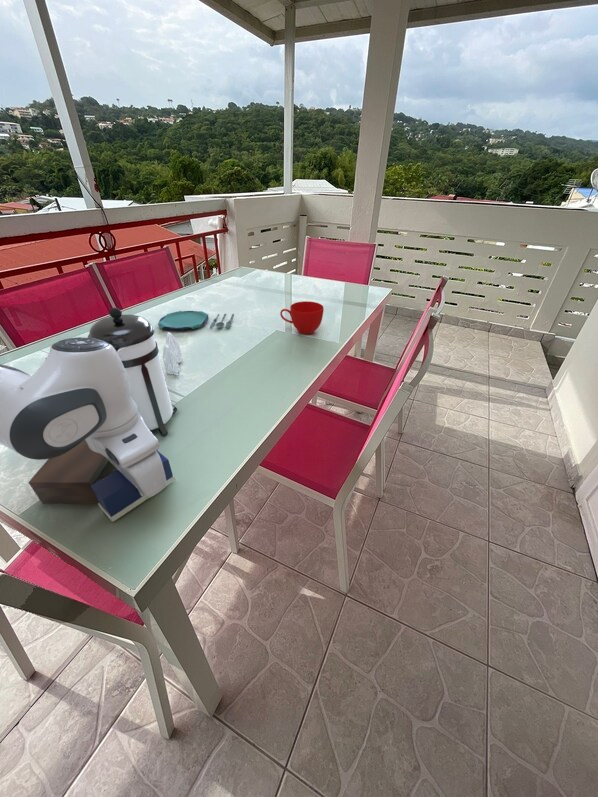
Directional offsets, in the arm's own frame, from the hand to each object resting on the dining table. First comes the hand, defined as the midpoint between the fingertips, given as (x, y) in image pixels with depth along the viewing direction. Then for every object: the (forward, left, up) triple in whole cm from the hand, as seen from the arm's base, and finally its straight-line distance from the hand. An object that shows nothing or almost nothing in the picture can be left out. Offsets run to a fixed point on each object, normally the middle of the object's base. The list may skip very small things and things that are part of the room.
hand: (135, 484), depth 63 cm
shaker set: (-9, +52, -4) cm, 53 cm away
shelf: (-13, +6, -3) cm, 15 cm away
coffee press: (-7, +24, -4) cm, 25 cm away
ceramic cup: (+33, +82, -4) cm, 89 cm away
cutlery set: (-11, +89, -4) cm, 90 cm away
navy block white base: (0, 0, -3) cm, 3 cm away
